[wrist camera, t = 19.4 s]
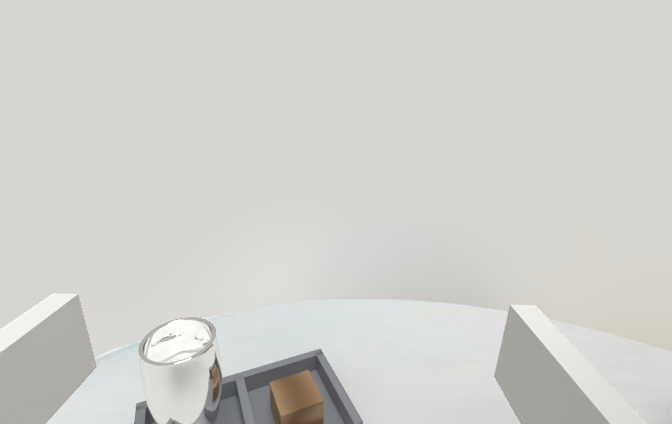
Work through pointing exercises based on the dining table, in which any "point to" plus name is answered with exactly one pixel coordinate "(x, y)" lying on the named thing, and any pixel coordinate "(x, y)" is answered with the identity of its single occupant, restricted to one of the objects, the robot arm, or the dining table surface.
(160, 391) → the beer glass
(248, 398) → the tray
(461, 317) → the dining table surface
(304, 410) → the walnut block
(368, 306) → the dining table surface
